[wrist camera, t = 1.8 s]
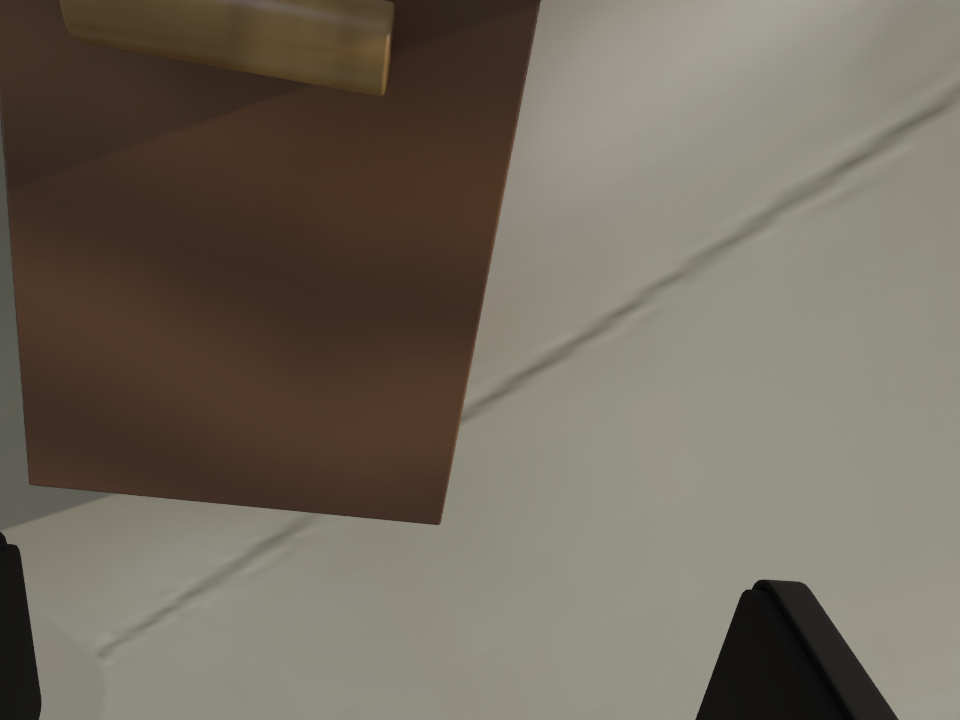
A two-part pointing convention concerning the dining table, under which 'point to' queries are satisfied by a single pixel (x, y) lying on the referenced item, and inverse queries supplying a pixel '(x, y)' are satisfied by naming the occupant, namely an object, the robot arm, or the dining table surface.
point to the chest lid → (255, 241)
